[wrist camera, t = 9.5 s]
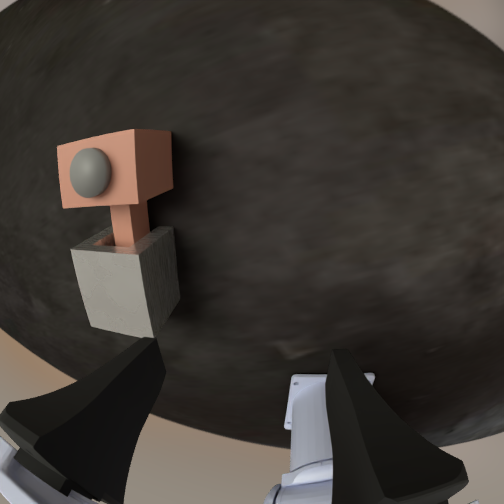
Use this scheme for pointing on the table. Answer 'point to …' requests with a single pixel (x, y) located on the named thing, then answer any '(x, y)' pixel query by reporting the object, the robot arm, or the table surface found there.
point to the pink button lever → (117, 177)
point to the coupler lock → (128, 281)
